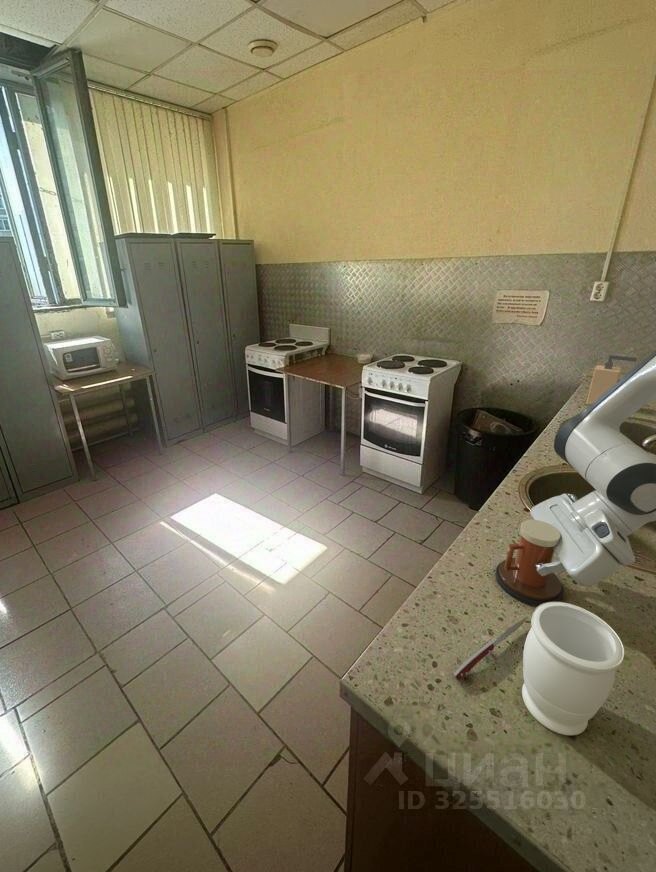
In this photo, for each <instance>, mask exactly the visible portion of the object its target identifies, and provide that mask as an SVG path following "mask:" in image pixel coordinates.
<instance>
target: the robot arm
mask: <svg viewBox="0 0 656 872" xmlns="http://www.w3.org/2000/svg"><path fill="white" fill-rule="evenodd" d="M655 398H656V351H654V352H653V353H651V354H650V355H648V356H647V357H646V358H645V359H643V360H641V362H640V363H638V364H636V366H634V367H633V368H632V369H631V370H630V371H629V372H628V373H626V374H625V375H624V376H623V377H622V378H620V379H618V382H617V383H616V384H615V385H613V386H612V387H611V388H610V389H609V390H608V391H606V392H605V393H604V394H603V395H602V396H601V397H599V398H598V399H597V400H596V401H595V402H594V403H592V404H591V405H588V406H587V407H586V408H585V409H583V410H582V411H580V412H578V413H577V414H575V415H574V416H572V417H571V418H569V419H568V420H566V421H565V422H563V423H562V424H561V425H560V427H559V428H558V430H557V431H556V433H555V436H554V440H553V441H554V442H553V449H554V452H555V453H556V454H557V456H558V457H559V458H561V459H562V460H563V461H564V462H565V463H567V464H568V465H569V466H570V467H572V468H573V469H574V470H575V471H576V472H577V473H578V474H579V475H580V476H581V477H582V478H583V479H584V480H585V481H586V482H587V483H588V484H589V485H590V486H591V487H593V488H594V490H593V491H591V492H590V493H587V494H586V495H584V496H582V497H581V498H579V499H578V497H577V496H576V495H575V494H573V493H562V494H560V495H556V496H553V497H550V498H548V499H545V500H544V501H542V502H539V503H537V504H536V505H533V506H532V508H530V510H529V514H530V517H532V520H539V521H543V522H546V523H548V524H550V525H552V526H554V527H555V528H556V529H557V530H558V531H559V532H560V540H559V542H558V544H557V545H556V546H554V547H553V550H554V554H555V555H556V558H553V559H552V563H547V564H544V563H543V562H542V561H541V562H540V563H539V564H536V565H535V568H536V570H537V572H538V573H539V574H540V575H541V576H545V575H547V574H549V573H554V574H562V573H565V572H567V574H568V575H569V577H570V578H571V579H572V580H573V581H574V582H575V583H576V584H577V585H578V586H580V587H591V586H594V585H596V584H598V583H600V582H603V581H604V580H606V579H608V578H610V577H612V576H613V575H614V574H616V573H617V572H618V571H619V569H620V566H621V565H622V566H624V567H626V566H628V567H629V566H631V565H632V564H634V563H635V562H636V557H635V555H634V551H633V550H632V549H633V548H632V545H631V543H630V539H629V537H628V536H630V535H631V536H632V535H633V534H634V533H636V532H637V531H638V530H639V529H640V528H641V527H642V526H644V525H646V524H648V523H651V522H655V521H656V454H654V453H651V452H649V451H646V450H644V449H643V448H642V447H640V446H639V445H637V444H636V443H634V442H633V440H631V439H630V438H628V437H627V435H625V434H623V433H622V431H621V429H620V428H621V425H622V424H623V423H624V422H625V421H627V420H628V419H629V418H631V416H633V415H634V414H636V413H637V412H638V411H640V410H641V409H643V407H645V406H646V405H647V404H648V403H650V402H651V401H652V400H653V399H655Z"/></svg>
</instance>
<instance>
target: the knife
mask: <svg viewBox="0 0 656 872" xmlns="http://www.w3.org/2000/svg"><path fill="white" fill-rule="evenodd" d="M528 618H529V616H526V617H524V618H523V619H521V620H520V621H518V622H516V623H515V624H513V625H512V626H510V627H508V628H507V629H506V630H505V631H504V632H503V633H502V634H500V635H499V636H497V637H493V638H492V639H491V640H489V641H487V642H486V643H485V644H484V645H482V646H481V647H480V648H479V649H477V650H476V651H475V652H474V653H473V654H472V655H471V656H469V657H468V658H467V659H466V660H465V661H464V662H462V663H461V665H460V666H459V667H458V668H457V669H456V670H455V671H454V672H453V673H452V676H453V677H454V678H455V679H456V680H457V681H459V682H460V681H462V679H463V678H465V676H467V674H468V673H469V672H470V671H471V670H472V669H473V668H474V667H476V666H477V664H478V663H479V662H480V661H482V660H483V659H484V658H485V657H486V656H487V655H488V654H489V655H491V654H493V652H494V650H495V647H497V646H498V645H499V644H500V643H502V642H503V641H505V640H507V639H508V638H509V637H510V636H511V635H512V634H513V633H515V632H517V630H518V629H519V628H520V627H521V626H522V625H523V624H524V623H525V622H526V620H528Z"/></svg>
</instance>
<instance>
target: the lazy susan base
mask: <svg viewBox="0 0 656 872" xmlns="http://www.w3.org/2000/svg"><path fill="white" fill-rule="evenodd" d="M502 562H503V561H501V562H500V563H498V565H497V566H496V568H495V574H494V575H495V580H496V582H497V584H498V585H499V587H500V588H501V589H502V590H503V591H504V592H505V593H506V594H507V595H509V596H510V597H511V598H513V599H515V600H516V601H519V602H520V603H524V604H525V605H529V606H533V607H538V606H539V605H541V604H543V603H547V602H562V599H563V596H564V586H563V584H562V583H561V592H560V594H559V595H558V596H557V597H556V598H554V599H552V600H535V599H530V598H527V597H525V596H522V595H520V594H518V593H516V592H515V591H513V590H512V589H510V588H509V587H508V586H507V585H506V584H505V583H504V582H503V581H502V579H501V577H500V575H499V567H500V564H501V563H502Z"/></svg>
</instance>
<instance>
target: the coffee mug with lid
mask: <svg viewBox="0 0 656 872" xmlns="http://www.w3.org/2000/svg"><path fill="white" fill-rule="evenodd" d="M519 533H520V536H519V540H518V543H509V544H508V549H507V554H506V558H505V559H504V560H502V561H501V562H502V563H501V562H500V563H501V564H500V563H499V564H500V567H499V575H500V577H501V579H502V581H503V582H504V583H505V584H506V585H507V586H508V587H509V588H510V589H512V590H513V591H515V592H516V593H518V594H520V595H522V596H525V597H527V598H530V599H535V600H552V599H554V598H556V597H557V596H558V595H559V594H560V592H561V584H562V583H561V580H560V579H559V577H558V575H556V573H549V574H547V575H545V576H541V575H540V574H539V573H538V572H537V570H536V568H535V565H536V564H539V563H540V562H541V561H542V562H543V563H544V564H547V563H553V560H554V555H555V552H554V550H553V547H554V546H556V545H557V544H558V542H559V540H560V532H559V531H558V530H557V529H556V528H555V527H554V526H552V525H550V524H548V523H546V522H543V521H539V520H534V519H525V520H523V521H522V522H521V523H520V527H519ZM515 551H516V554H515V557H514V553H515Z"/></svg>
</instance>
